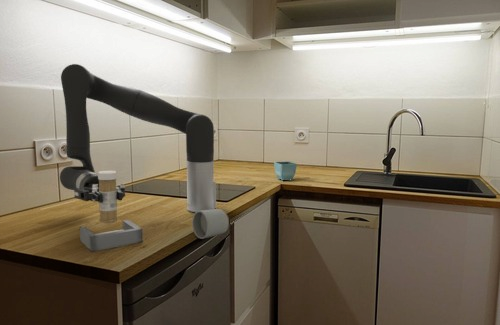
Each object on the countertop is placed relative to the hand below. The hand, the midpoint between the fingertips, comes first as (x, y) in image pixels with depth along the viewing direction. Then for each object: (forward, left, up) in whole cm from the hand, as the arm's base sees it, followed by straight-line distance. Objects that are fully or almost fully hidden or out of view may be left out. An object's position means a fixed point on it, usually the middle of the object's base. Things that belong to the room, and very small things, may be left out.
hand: (111, 197), depth 100 cm
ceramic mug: (-24, +8, -12) cm, 28 cm away
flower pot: (-100, -43, -12) cm, 110 cm away
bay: (0, -2, -12) cm, 12 cm away
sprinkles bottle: (0, -3, -7) cm, 8 cm away
